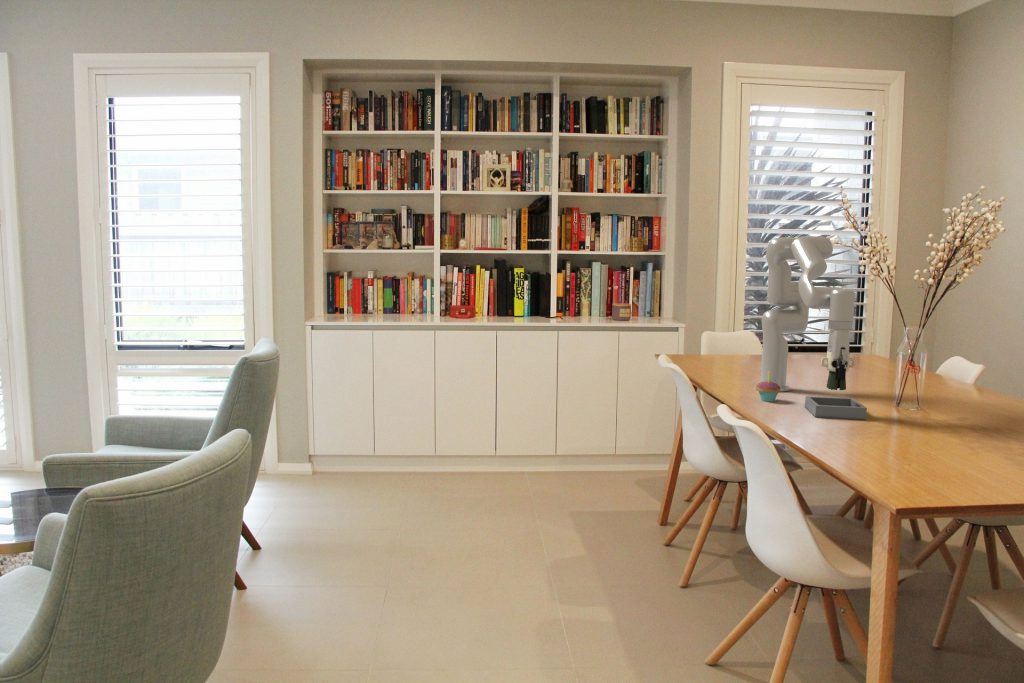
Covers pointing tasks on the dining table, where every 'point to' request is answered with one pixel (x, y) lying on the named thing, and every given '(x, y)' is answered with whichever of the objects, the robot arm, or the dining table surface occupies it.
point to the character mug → (831, 367)
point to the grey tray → (835, 408)
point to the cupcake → (768, 390)
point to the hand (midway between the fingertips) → (836, 377)
